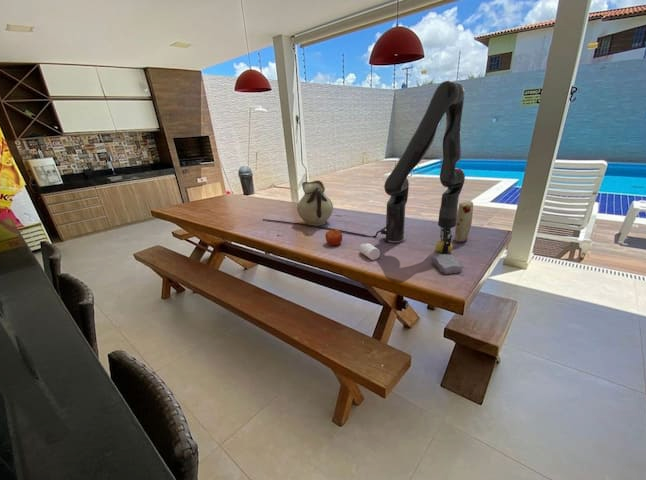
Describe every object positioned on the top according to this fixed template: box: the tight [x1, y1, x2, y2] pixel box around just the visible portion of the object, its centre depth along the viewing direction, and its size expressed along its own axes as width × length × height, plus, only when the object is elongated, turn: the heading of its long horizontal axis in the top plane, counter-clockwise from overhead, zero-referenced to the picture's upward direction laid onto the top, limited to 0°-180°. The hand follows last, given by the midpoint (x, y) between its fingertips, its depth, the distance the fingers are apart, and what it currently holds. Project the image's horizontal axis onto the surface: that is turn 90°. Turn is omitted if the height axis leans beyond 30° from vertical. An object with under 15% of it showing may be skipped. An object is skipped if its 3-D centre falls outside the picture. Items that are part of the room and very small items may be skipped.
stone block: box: [432, 253, 464, 275], centre depth 128 cm, size 12×5×10 cm
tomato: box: [324, 228, 343, 246], centre depth 159 cm, size 9×9×8 cm
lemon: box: [435, 240, 454, 253], centre depth 143 cm, size 8×5×5 cm
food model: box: [454, 200, 474, 243], centre depth 151 cm, size 10×7×20 cm
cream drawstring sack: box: [296, 180, 334, 227], centre depth 188 cm, size 22×24×25 cm
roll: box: [359, 243, 381, 261], centre depth 144 cm, size 6×12×6 cm, turn 22°
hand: (443, 250), depth 143 cm, fingers closed on lemon, 5 cm apart
